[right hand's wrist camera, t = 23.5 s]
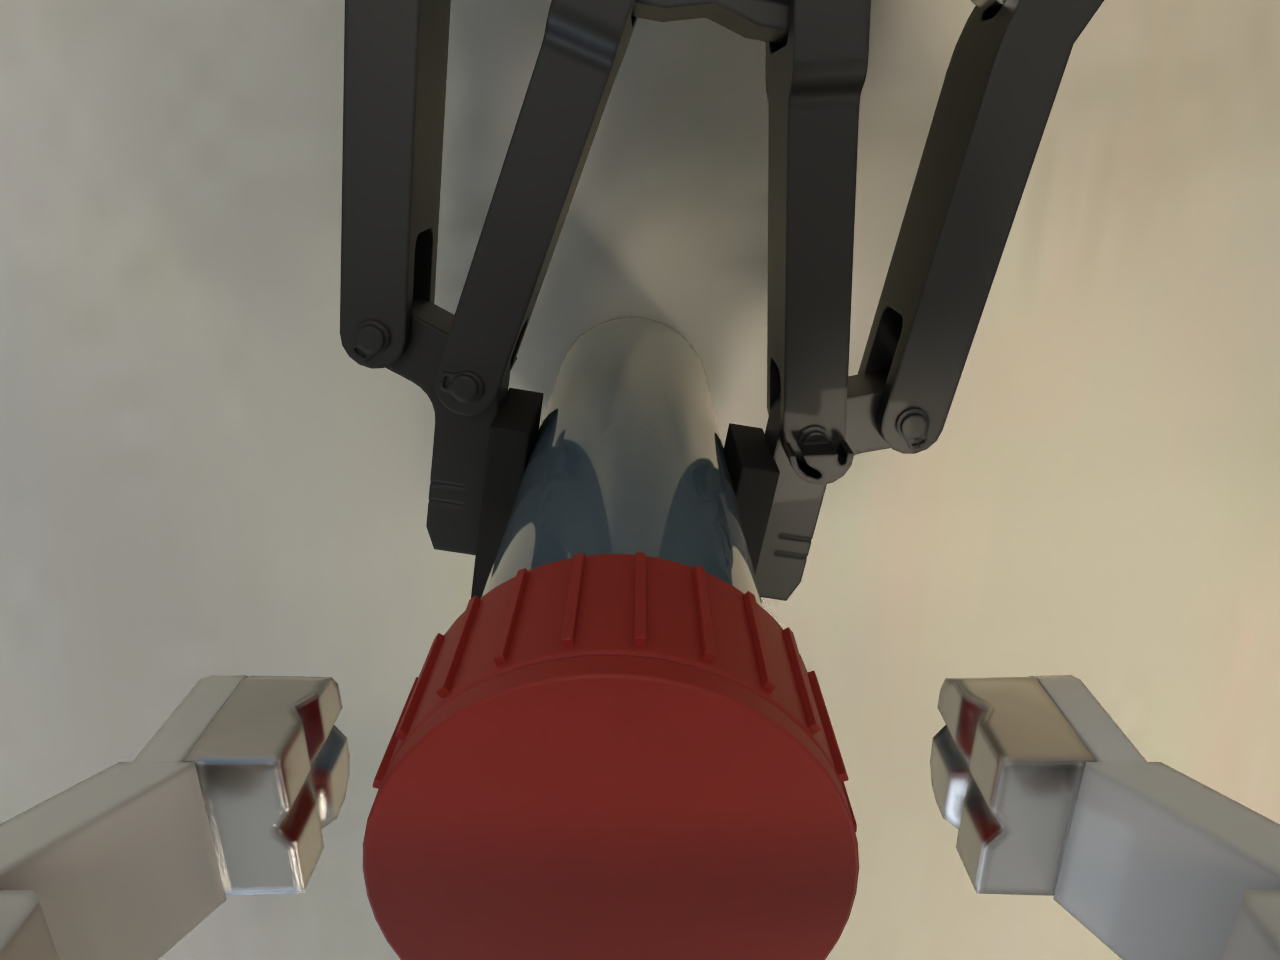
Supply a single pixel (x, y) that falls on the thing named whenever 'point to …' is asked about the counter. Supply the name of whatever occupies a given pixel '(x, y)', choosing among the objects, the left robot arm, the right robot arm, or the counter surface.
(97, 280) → the counter surface
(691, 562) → the bottle
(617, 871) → the lid
